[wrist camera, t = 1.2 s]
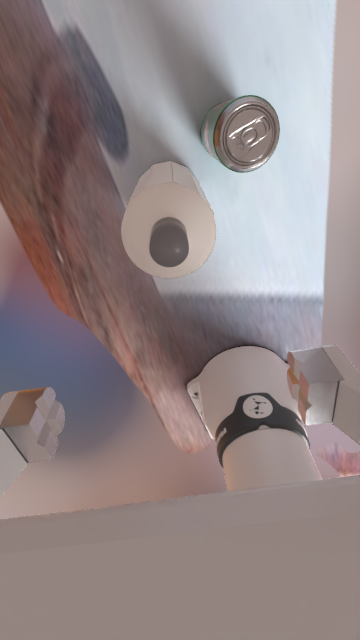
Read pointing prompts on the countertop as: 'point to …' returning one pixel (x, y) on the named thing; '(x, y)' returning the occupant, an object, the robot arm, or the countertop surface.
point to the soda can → (241, 133)
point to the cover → (168, 222)
